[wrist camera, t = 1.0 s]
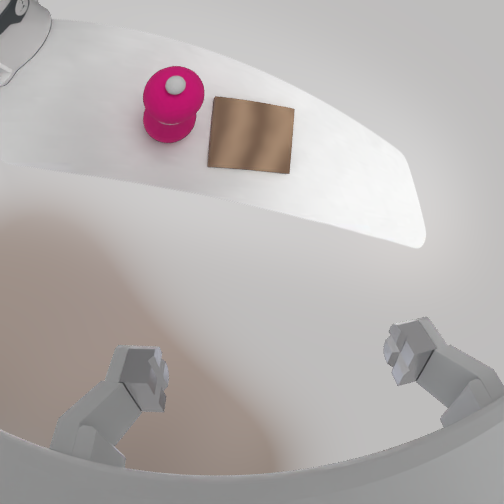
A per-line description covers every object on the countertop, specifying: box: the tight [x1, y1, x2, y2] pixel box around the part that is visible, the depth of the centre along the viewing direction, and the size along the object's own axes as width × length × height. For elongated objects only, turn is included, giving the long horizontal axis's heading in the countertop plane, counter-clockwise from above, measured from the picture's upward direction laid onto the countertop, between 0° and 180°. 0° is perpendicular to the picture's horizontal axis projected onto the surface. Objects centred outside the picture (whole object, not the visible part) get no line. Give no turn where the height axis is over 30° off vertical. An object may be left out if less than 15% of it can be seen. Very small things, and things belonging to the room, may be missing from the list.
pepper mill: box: [143, 66, 204, 143], centre depth 29 cm, size 7×7×20 cm
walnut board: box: [208, 96, 294, 174], centre depth 42 cm, size 13×11×1 cm
